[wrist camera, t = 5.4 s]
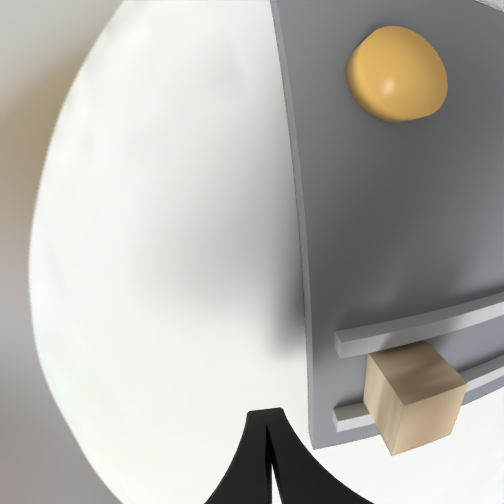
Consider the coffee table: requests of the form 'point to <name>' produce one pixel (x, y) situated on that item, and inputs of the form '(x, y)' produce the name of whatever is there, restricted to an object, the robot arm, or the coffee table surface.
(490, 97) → the panel
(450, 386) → the beige wooden cube
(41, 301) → the coffee table surface
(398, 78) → the amber button
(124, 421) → the coffee table surface
